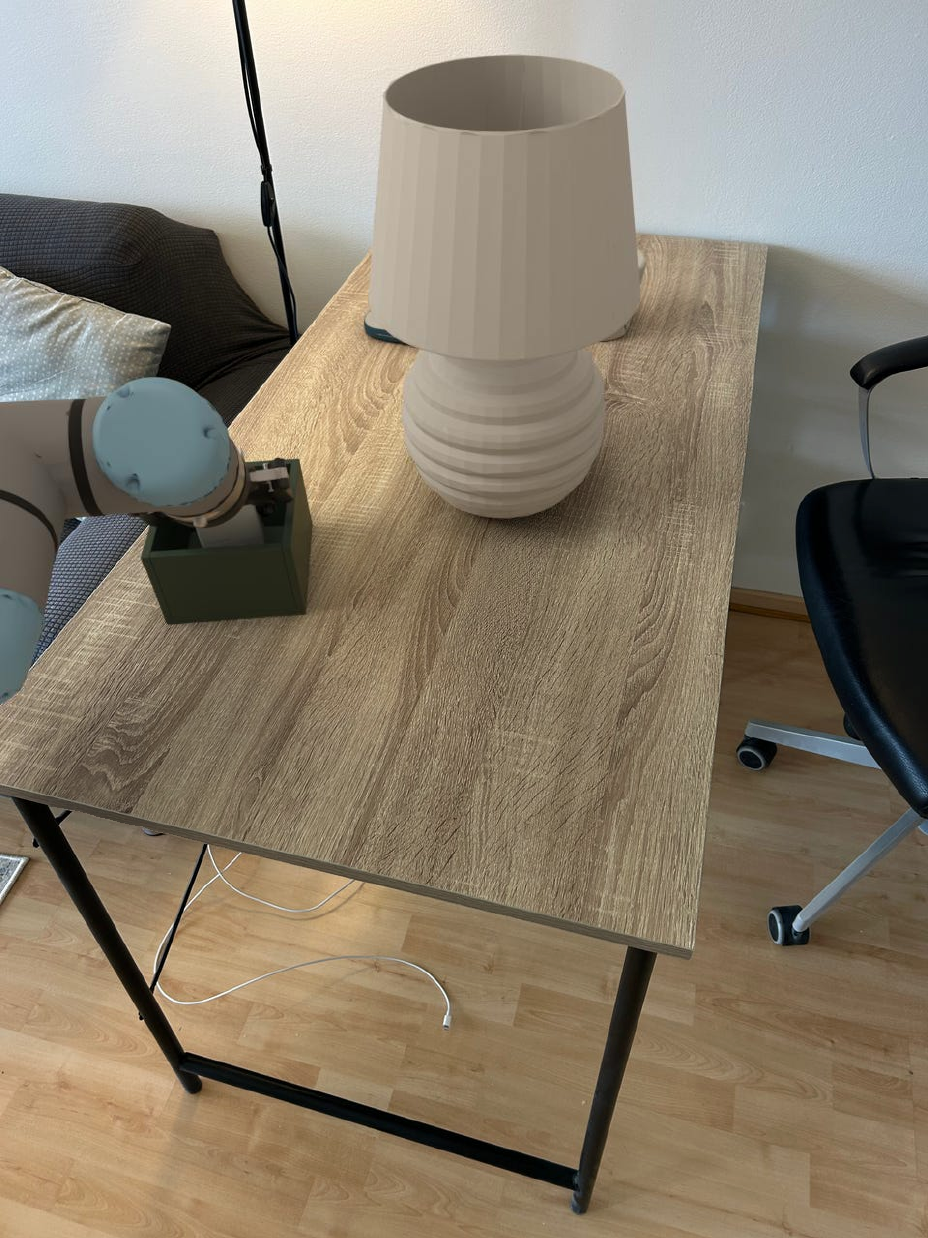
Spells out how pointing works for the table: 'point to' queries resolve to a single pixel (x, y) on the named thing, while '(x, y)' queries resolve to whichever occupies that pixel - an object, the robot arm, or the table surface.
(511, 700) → the table surface
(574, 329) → the table lamp
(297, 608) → the dark green open box
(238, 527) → the cosmetic box
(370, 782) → the table surface
